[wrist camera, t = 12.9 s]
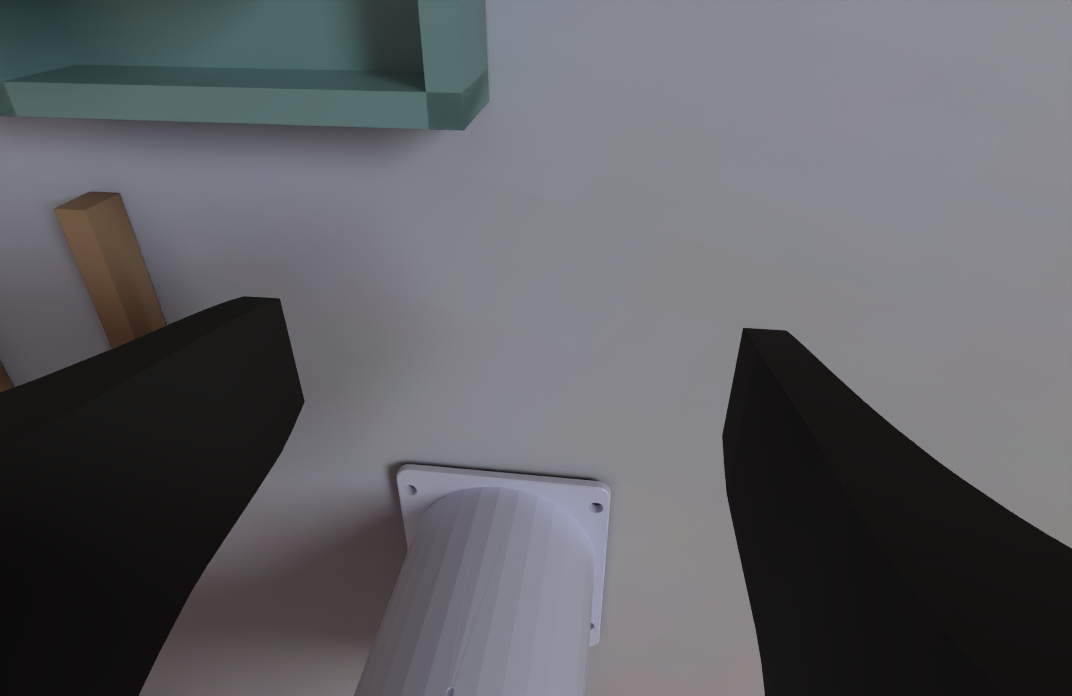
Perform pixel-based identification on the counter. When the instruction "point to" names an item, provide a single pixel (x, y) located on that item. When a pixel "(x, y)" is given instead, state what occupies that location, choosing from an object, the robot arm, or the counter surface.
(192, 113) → the tray
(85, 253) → the bay
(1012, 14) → the counter surface
